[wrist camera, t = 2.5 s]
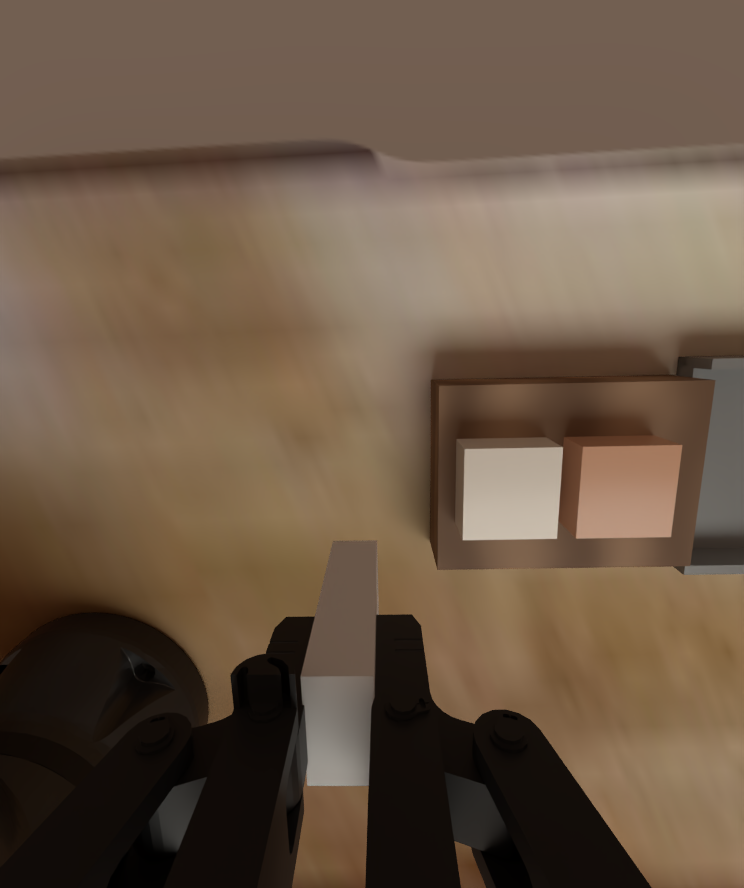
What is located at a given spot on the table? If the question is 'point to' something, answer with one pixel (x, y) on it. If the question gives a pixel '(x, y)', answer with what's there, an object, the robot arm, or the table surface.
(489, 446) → the cream tile
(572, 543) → the walnut board
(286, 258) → the table surface
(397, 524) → the table surface
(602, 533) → the terracotta tile
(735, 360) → the tray
